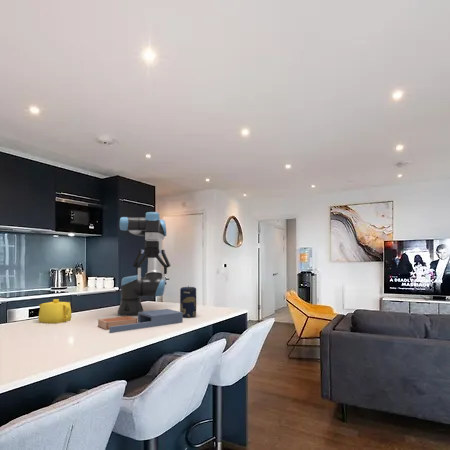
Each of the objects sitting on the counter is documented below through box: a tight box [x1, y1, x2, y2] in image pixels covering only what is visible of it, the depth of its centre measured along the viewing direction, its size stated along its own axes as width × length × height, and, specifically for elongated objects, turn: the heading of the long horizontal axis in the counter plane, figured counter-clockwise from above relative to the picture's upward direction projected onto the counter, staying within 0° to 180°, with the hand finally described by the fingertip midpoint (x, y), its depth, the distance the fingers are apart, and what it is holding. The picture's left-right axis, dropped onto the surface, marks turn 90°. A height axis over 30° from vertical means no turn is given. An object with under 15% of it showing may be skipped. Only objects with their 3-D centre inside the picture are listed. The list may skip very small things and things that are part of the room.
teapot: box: [38, 298, 72, 325], centre depth 190 cm, size 20×12×12 cm, turn 70°
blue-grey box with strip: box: [108, 308, 184, 334], centre depth 179 cm, size 16×40×5 cm, turn 130°
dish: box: [97, 316, 138, 331], centre depth 176 cm, size 11×16×4 cm
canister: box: [179, 285, 197, 318], centre depth 205 cm, size 10×10×18 cm
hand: (151, 280), depth 187 cm, fingers open, 13 cm apart
